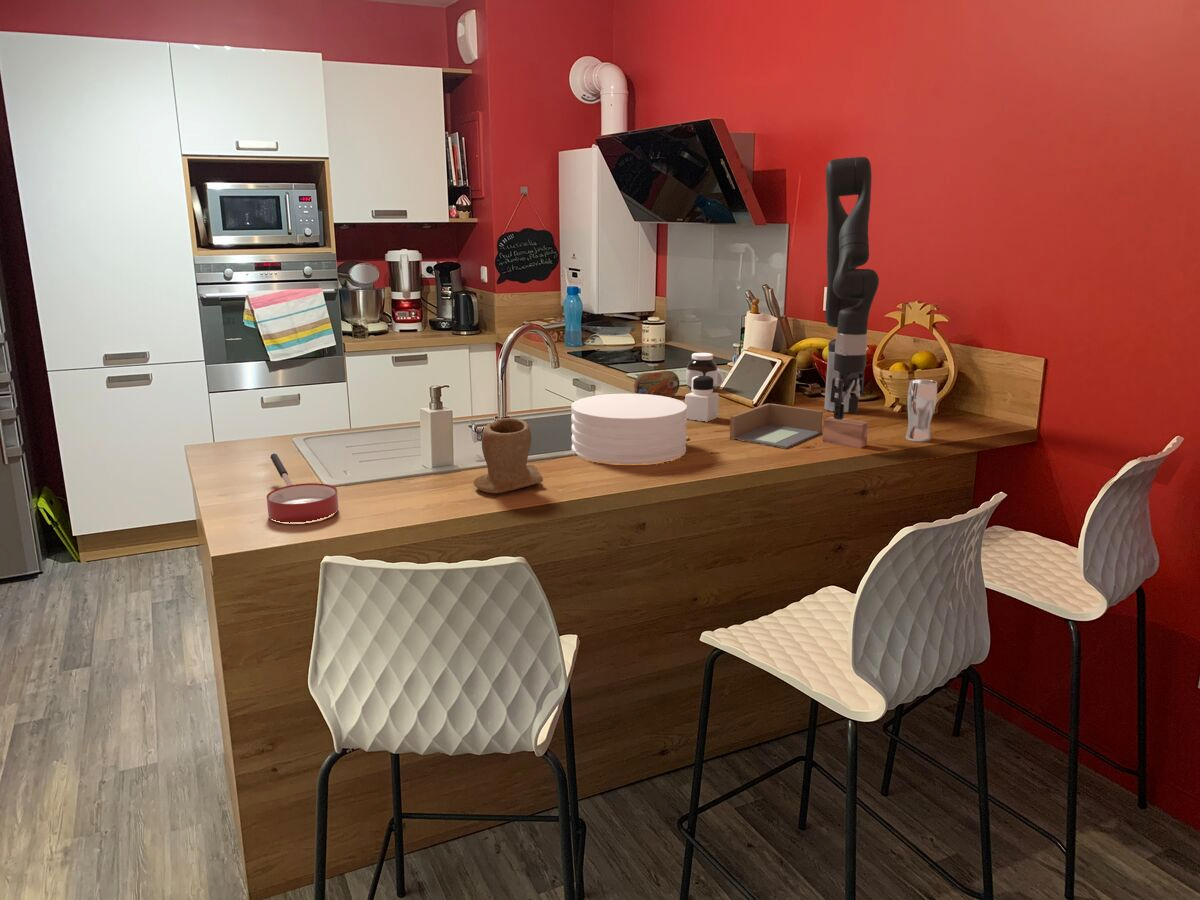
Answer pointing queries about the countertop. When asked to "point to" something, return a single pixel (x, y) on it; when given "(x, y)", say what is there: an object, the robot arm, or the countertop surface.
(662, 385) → the tin
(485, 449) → the stone cup
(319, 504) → the frying pan
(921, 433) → the beer glass
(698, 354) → the spread jar
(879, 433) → the countertop surface
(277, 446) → the countertop surface
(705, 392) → the medicine bottle
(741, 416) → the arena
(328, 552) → the countertop surface
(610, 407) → the plate stack
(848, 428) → the block
